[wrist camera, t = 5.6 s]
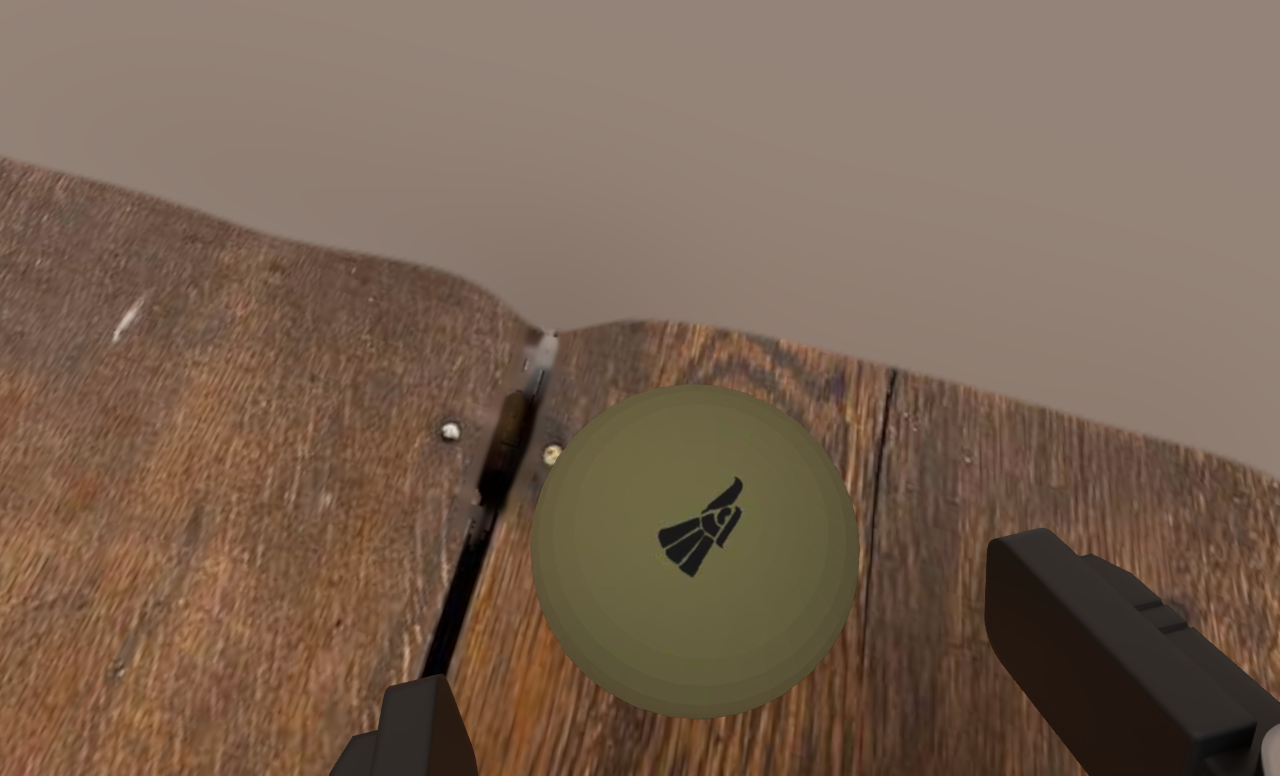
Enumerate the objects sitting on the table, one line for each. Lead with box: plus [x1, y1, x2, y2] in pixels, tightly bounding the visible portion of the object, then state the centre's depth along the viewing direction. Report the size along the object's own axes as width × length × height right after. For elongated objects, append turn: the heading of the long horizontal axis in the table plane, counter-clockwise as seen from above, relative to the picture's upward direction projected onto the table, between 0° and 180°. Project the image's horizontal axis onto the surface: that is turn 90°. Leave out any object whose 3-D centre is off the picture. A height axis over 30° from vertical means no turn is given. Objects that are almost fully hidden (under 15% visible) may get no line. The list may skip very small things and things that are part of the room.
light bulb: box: [531, 384, 860, 719], centre depth 16 cm, size 6×6×10 cm
